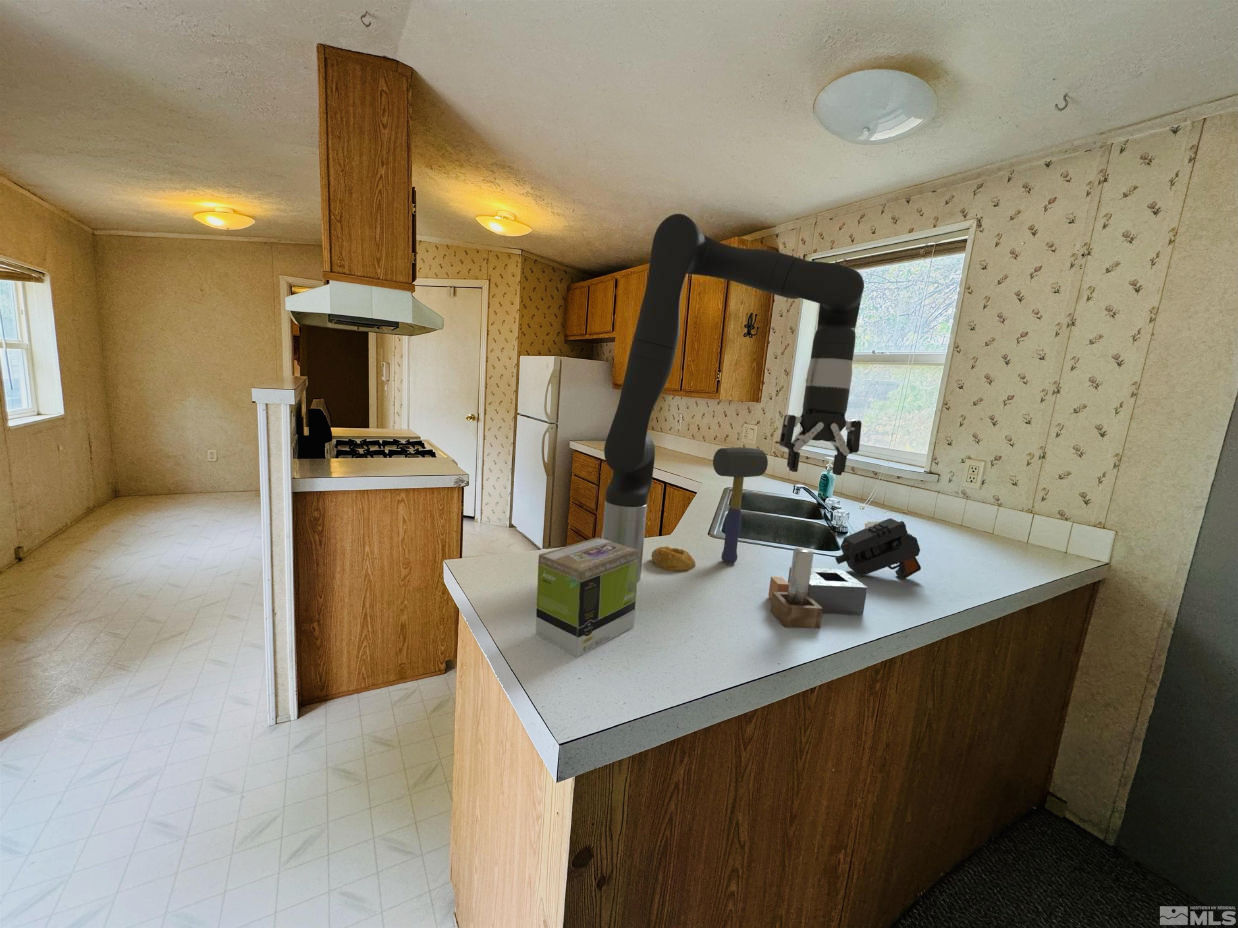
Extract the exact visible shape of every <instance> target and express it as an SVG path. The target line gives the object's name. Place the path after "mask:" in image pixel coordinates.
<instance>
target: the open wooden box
mask: <svg viewBox="0 0 1238 928" xmlns="http://www.w3.org/2000/svg"><path fill="white" fill-rule="evenodd" d="M787 595H788V592H773V593H772V599H770V600H771V602H770V608H769V609H770V612H771V613H772V614H773V616H774V617H775V618H776V619H777V620H778V621H779V623H780V624H781V625H782V626H783V627H784V628H798V629H799V628H800V629H801V628H803V629H820V628H821V623H822V618H823V614H822V611H823V608H822V607H821V606H820V605H818V604H817V603H816V602H815V601H814V600H813V599H812V598H811V597H810V596H809V595H808V596H807V603H806V606H804V605H790V604H789V603H788V602H787Z"/></svg>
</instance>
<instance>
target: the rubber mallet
mask: <svg viewBox="0 0 1238 928" xmlns="http://www.w3.org/2000/svg"><path fill="white" fill-rule="evenodd" d="M768 463H769V460H768V456H767V454H766V452H765V451H764V450H763V449H760V448H754V447H753V448H752V447H745V446H743V447H741V446H740V447H721V448H719V449H717V450H716V451H715V453H714V454H713V459H712V466H713V470H714V471H715V473H716V474H717V475H718V476H720V477H729V478H733V481H732V489H731V497H730V504H729V505H730V506H729V508H728V509H727V513H726V517H725V518H726V519H725V526H724V531H725V533H724V535H725V536H724V543H723V551H722V553H721V557H720V558H721V561H722V562H724V564H725V563H726V564H725V565H730V566H734V565H735V564H734V563H736V562H737V561H738V541H739V535H740V532H741V525H742V509H741V507H742V497H743V496H742V495H743V489H744V488H743V487H744V486H743V485H744V478H755V477H760V476H763V475H764V474H765V473H766V471H767V469H768V466H769V464H768ZM733 564H734V565H733Z"/></svg>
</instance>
